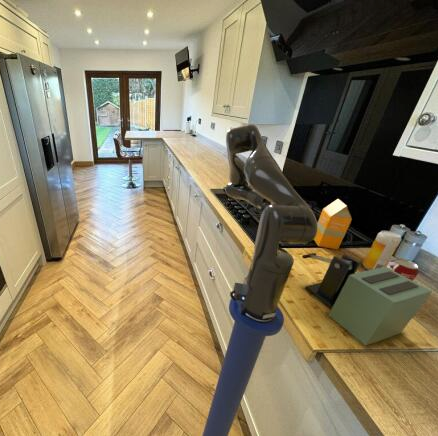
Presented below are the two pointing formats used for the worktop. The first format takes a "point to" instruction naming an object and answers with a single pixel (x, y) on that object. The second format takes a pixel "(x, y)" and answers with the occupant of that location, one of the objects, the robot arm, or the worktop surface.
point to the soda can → (404, 267)
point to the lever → (324, 259)
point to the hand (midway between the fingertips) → (292, 215)
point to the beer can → (381, 250)
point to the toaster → (377, 304)
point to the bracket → (333, 280)
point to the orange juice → (333, 225)
